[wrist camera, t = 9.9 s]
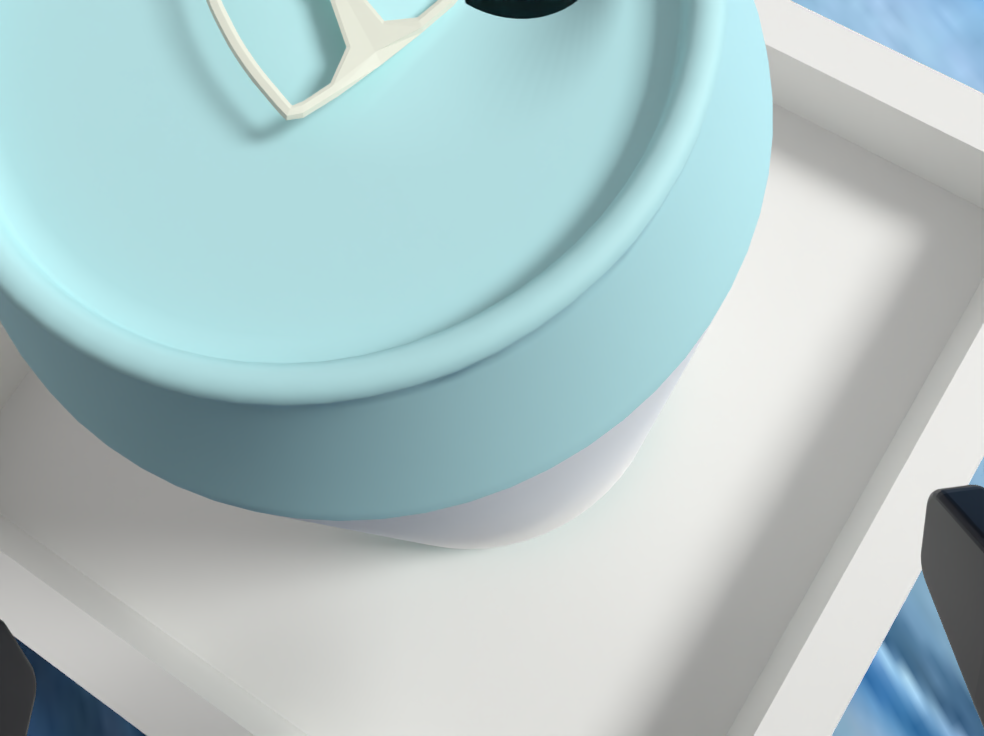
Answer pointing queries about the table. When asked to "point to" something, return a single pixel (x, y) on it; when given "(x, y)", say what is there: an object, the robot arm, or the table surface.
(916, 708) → the table surface
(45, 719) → the table surface
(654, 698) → the tray
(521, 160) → the can
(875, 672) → the table surface
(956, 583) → the robot arm
